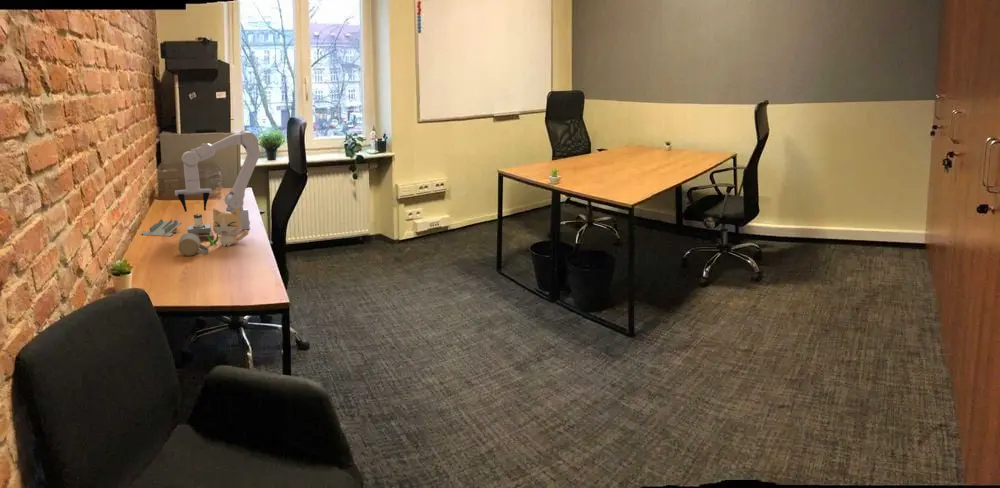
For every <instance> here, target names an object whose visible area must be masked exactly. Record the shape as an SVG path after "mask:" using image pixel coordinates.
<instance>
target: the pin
mask: <svg viewBox="0 0 1000 488" xmlns="http://www.w3.org/2000/svg"><path fill="white" fill-rule="evenodd" d="M192 215H193V214H192ZM192 217H193V220H194V225H195V228H203V225H204V224H203V214H202V213H201V214H200V213H199V214H194V215H193V216H192Z"/></svg>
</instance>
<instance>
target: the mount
mask: <svg viewBox="0 0 1000 488" xmlns="http://www.w3.org/2000/svg"><path fill="white" fill-rule="evenodd" d="M209 233H210V239H211V240H212V241H214V231H211V232H203V233H195V235H196V236H198V238H199V239H200V242H204V241H209V240H208V235H209Z"/></svg>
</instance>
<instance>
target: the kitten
mask: <svg viewBox="0 0 1000 488" xmlns="http://www.w3.org/2000/svg"><path fill="white" fill-rule="evenodd" d="M212 209H213V210H212V217H213V218H212V219H213V223H212V225H213V226H212V232H213V233H215V234H216V238H215V239H213V240H211V239H210V233H209V235H208V240H207V241H208V242H209V246H213V245H217V242H218V241H219V243H220V244H221V245H222V246H223V247H226V246H227V247H230V246H232V245H235V244H236V243H237V242H238V241H241V240H243V238H245V237H246V236H248V234H249V230H248V229H245V230H244V231H243V232H242V233H241V231H242V230H241V217H240V209H239V208H237V209H235V210H233V211H232V212H226V211H221V210H218V209H216V208H212ZM240 233H241V235H239V236H236V235H238V234H240ZM219 236H220V237H219Z"/></svg>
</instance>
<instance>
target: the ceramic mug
mask: <svg viewBox="0 0 1000 488" xmlns="http://www.w3.org/2000/svg"><path fill="white" fill-rule="evenodd" d="M177 246H178V250H179V253H181V254H182V255H183V256H184V257H185V256H186V257H191V256H194V255H196V254H197V253H199V254H203V255H207V254H208V253H209V251H210V249H209V247H207V246H205V245H203V244H201V241H200V239H199V238H198V236H196V235H195V234H192V233H188V232H187V233H183V234H182V235H181V236H180V238H179V240H178V245H177Z"/></svg>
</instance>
